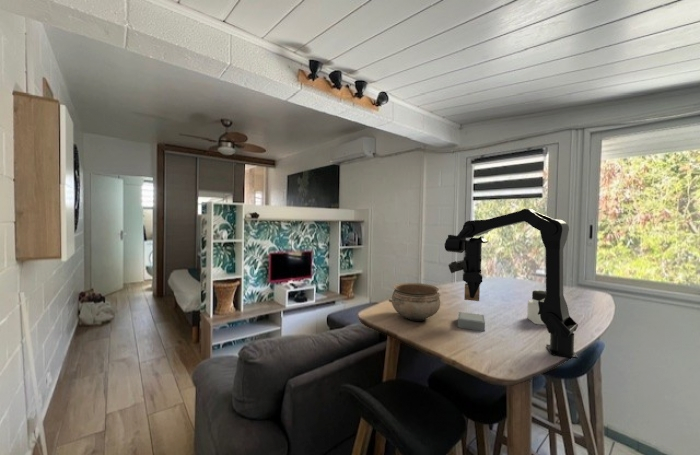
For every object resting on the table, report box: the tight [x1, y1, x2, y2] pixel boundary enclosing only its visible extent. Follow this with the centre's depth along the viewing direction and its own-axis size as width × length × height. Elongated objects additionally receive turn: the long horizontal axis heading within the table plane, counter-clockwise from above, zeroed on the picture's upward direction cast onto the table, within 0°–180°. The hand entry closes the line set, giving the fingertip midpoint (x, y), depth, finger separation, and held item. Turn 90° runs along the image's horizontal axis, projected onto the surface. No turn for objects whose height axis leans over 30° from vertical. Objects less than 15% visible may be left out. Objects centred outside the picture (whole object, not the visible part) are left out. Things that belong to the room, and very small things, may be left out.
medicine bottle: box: [526, 289, 546, 326], centre depth 112 cm, size 7×7×12 cm
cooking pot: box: [388, 282, 441, 322], centre depth 115 cm, size 25×19×12 cm
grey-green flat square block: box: [457, 311, 486, 332], centre depth 108 cm, size 9×9×3 cm
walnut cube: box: [464, 282, 481, 302], centre depth 107 cm, size 5×5×5 cm
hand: (471, 296), depth 107 cm, fingers closed on walnut cube, 5 cm apart
